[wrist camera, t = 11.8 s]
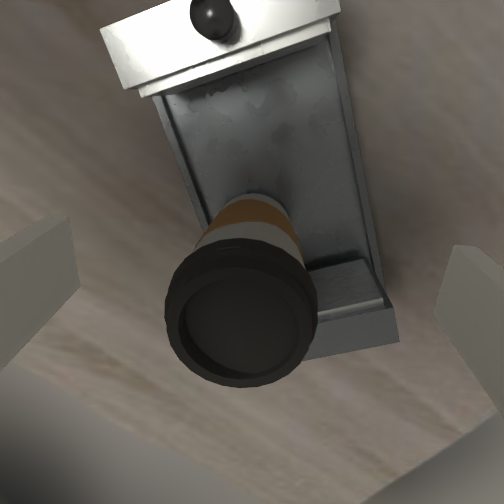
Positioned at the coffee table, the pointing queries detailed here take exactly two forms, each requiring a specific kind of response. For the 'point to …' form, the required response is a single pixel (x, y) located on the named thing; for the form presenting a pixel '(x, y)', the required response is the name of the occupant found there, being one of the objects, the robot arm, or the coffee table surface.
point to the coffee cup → (243, 298)
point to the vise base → (292, 178)
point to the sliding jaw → (210, 39)
